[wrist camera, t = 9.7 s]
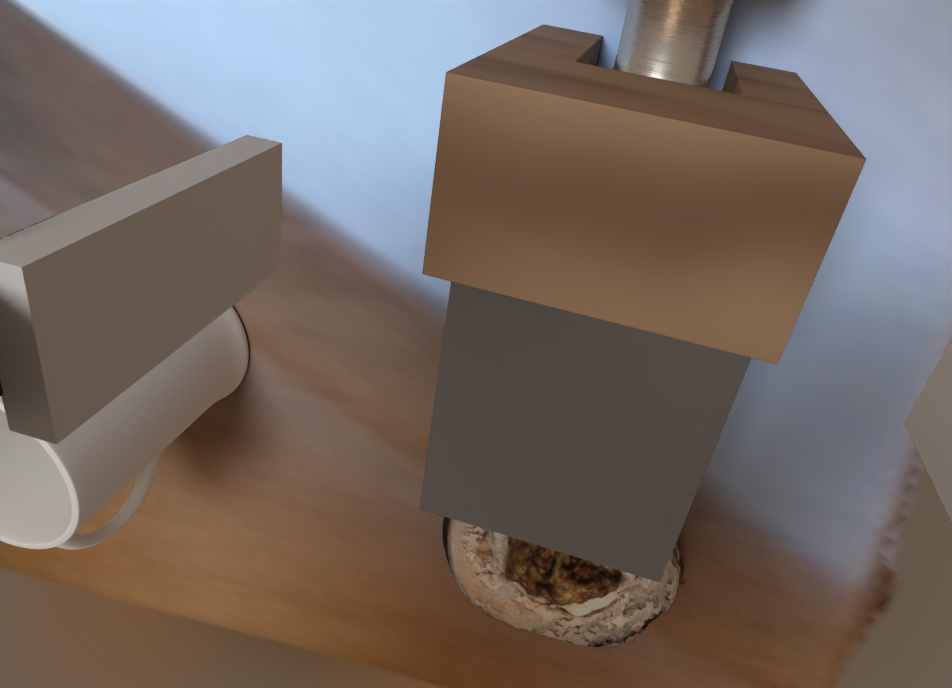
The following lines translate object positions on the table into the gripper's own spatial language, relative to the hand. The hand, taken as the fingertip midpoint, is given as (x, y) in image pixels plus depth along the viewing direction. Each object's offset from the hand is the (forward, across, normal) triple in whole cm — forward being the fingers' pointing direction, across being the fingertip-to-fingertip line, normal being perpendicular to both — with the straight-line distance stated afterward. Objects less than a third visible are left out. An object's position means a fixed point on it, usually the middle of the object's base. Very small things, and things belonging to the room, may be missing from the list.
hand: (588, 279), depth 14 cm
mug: (+16, -20, -17) cm, 31 cm away
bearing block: (+15, +1, -8) cm, 17 cm away
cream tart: (+16, +2, -22) cm, 27 cm away
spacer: (+15, 0, 0) cm, 15 cm away
